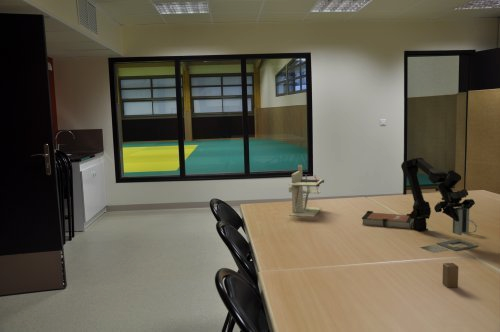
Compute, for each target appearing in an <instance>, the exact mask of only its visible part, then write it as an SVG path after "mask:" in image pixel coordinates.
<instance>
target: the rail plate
mask: <svg viewBox="0 0 500 332" xmlns="http://www.w3.org/2000/svg"><path fill="white" fill-rule="evenodd" d="M455 244H462V245H465V246H462V247H460V246H457V245H455ZM436 246H439V247H442V248H445V249H448V250H451V251H454V252H458V251H463V250H468V249H472V248H479V245H478V244H474V243H472V242H468V241H466V240H462V239H459V238H458V239H457V238H456V239H452V240H446V241H441V242H436Z"/></svg>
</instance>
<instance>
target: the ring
mask: <svg viewBox="0 0 500 332" xmlns="http://www.w3.org/2000/svg"><path fill="white" fill-rule="evenodd" d="M469 223H472V224H473V225H474V226H475V229H474V230H473V231H472V232H471V231H469V234H468V235H472V234H475V233H476V231H477V230H478V225H477V223H476V222H475V221H474V219H471V218H469Z"/></svg>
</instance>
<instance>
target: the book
mask: <svg viewBox="0 0 500 332" xmlns="http://www.w3.org/2000/svg"><path fill="white" fill-rule="evenodd" d="M361 220H362V224H361V225H363V226H375V227H384V228H395V229H396V228H398V229H405V230H406V229H407V230H408V229H409V230H410V229H411V228H412V227H411V226H413V219H412V218H410V213H406V214H398V213H397V214H393V213H382V212H381V213H380V212H378V213H377V212H374V211H373V210H367V211H366V213H365V214H364V215H363V216H362V217H361Z"/></svg>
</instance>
